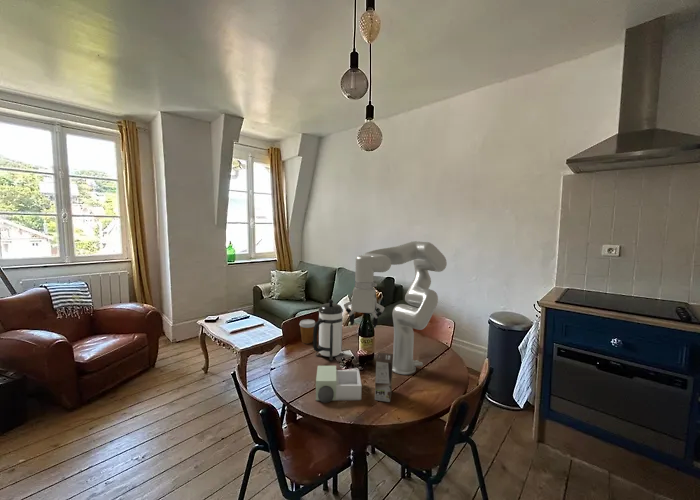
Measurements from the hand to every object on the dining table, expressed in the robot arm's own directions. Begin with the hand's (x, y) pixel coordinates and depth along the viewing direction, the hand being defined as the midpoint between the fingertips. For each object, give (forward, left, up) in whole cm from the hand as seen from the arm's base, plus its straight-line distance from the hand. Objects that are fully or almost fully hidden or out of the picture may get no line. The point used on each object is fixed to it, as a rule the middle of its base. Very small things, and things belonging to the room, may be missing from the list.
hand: (363, 325), depth 129 cm
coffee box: (-8, +6, -28) cm, 29 cm away
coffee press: (+15, -31, -28) cm, 44 cm away
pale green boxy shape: (+11, +3, -27) cm, 29 cm away
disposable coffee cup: (+28, -51, -28) cm, 64 cm away
